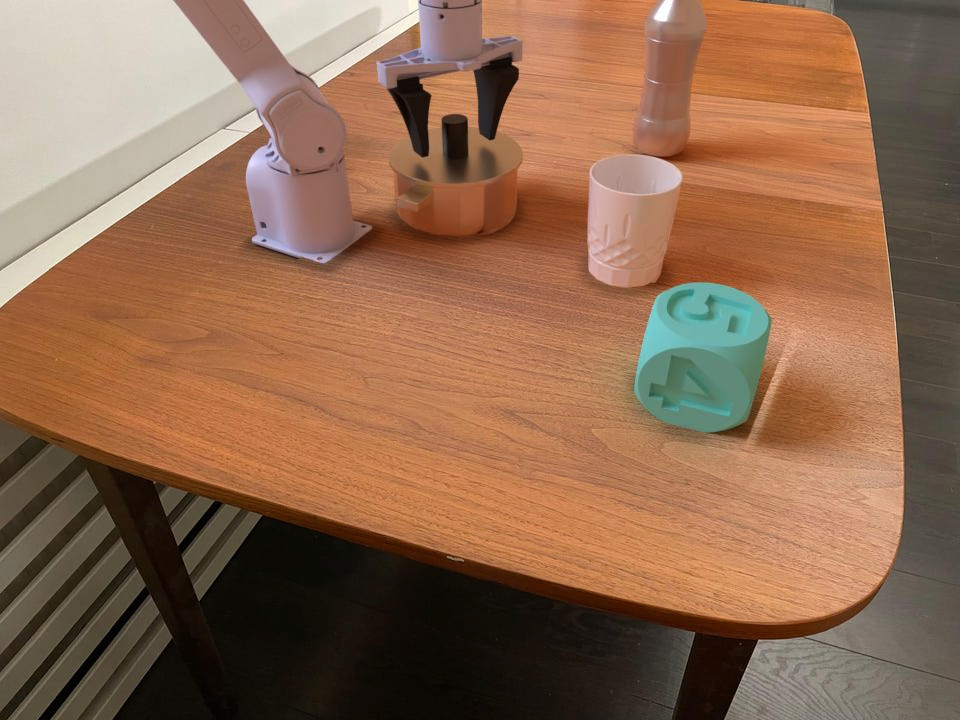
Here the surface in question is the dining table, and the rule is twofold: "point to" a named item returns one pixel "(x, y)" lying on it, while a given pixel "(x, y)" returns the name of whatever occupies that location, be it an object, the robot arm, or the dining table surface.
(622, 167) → the white cup
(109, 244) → the dining table surface
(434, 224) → the pot
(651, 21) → the plastic bottle
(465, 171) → the lid
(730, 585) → the dining table surface
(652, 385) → the decorative dice
